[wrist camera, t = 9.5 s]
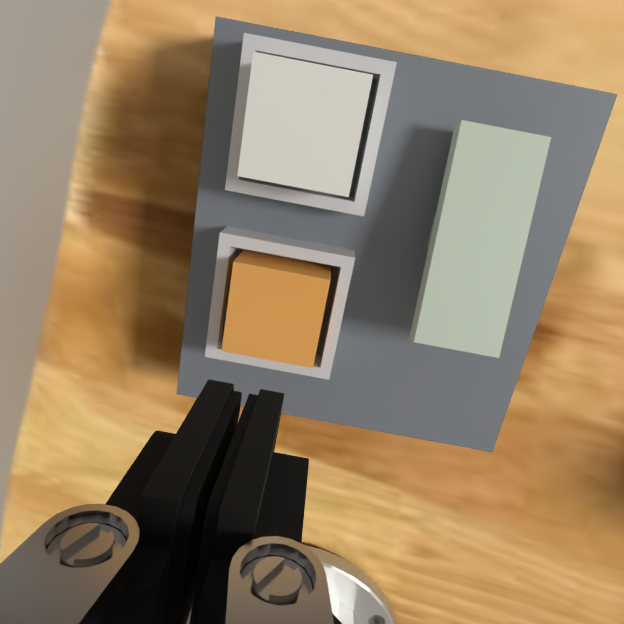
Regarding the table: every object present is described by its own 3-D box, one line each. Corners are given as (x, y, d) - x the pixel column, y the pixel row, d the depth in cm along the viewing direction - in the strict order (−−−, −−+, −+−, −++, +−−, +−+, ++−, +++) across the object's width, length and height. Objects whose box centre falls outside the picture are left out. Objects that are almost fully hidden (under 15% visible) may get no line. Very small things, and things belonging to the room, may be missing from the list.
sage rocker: (490, 353, 17) (499, 357, 16) (409, 338, 17) (413, 342, 16) (539, 142, 16) (551, 137, 15) (454, 126, 16) (461, 119, 15)
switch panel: (473, 414, 23) (502, 472, 19) (196, 363, 23) (166, 410, 19) (575, 101, 19) (640, 90, 15) (234, 35, 19) (205, 6, 15)
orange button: (315, 345, 19) (312, 368, 17) (232, 330, 19) (221, 351, 17) (331, 265, 18) (330, 279, 16) (244, 249, 18) (233, 261, 16)
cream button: (347, 190, 16) (348, 197, 14) (249, 172, 16) (237, 176, 14) (368, 83, 15) (373, 74, 13) (263, 63, 15) (253, 51, 13)
